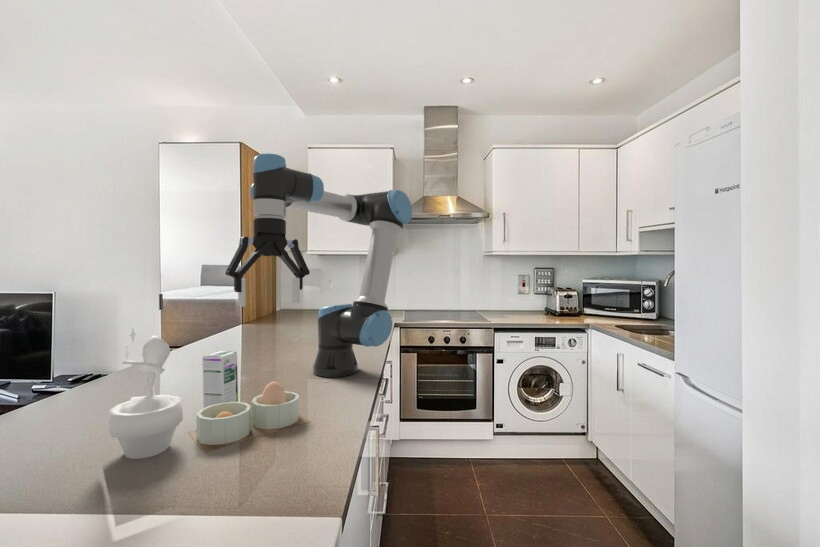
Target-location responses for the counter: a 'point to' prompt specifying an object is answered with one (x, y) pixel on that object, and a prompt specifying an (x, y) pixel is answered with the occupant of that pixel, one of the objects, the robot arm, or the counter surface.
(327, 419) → the counter surface
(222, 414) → the rubber ball
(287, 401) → the cup
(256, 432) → the rack board
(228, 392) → the syrup box
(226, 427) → the cup
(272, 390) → the egg
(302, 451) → the counter surface
